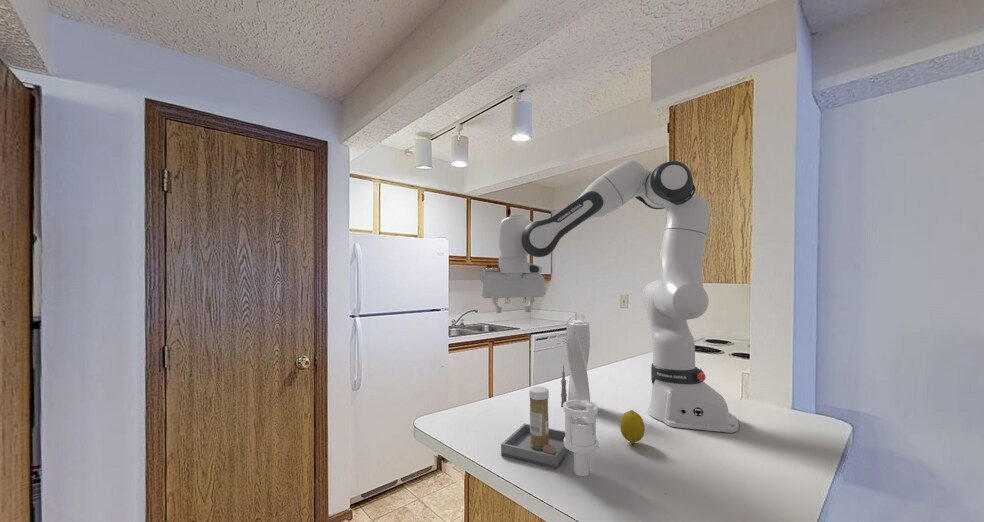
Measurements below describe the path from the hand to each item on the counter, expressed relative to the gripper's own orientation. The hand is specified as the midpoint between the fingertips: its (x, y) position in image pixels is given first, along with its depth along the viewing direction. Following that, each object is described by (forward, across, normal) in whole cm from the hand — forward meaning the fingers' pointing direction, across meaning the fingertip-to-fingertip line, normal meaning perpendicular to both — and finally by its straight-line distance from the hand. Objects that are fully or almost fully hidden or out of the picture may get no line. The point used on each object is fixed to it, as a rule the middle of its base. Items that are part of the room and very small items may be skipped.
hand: (513, 312), depth 119 cm
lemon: (+29, +21, -31) cm, 47 cm away
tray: (+29, -2, -28) cm, 41 cm away
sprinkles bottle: (+29, -1, -28) cm, 40 cm away
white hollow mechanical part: (+29, +4, -40) cm, 50 cm away
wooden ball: (+27, -1, -34) cm, 44 cm away
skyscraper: (+30, +20, -3) cm, 36 cm away
